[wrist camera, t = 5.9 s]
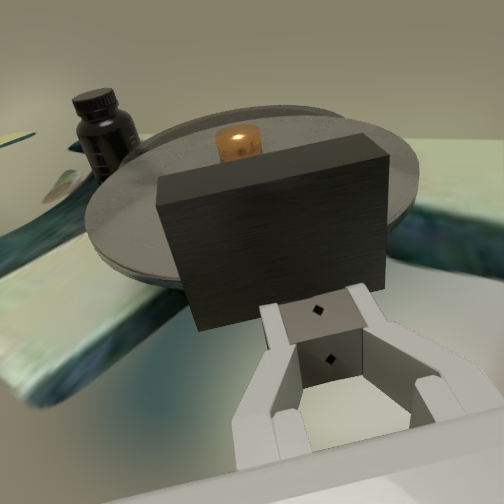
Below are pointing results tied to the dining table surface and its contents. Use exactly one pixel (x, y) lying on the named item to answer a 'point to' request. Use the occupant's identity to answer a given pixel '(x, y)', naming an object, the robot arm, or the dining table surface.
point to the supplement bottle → (104, 131)
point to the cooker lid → (257, 212)
